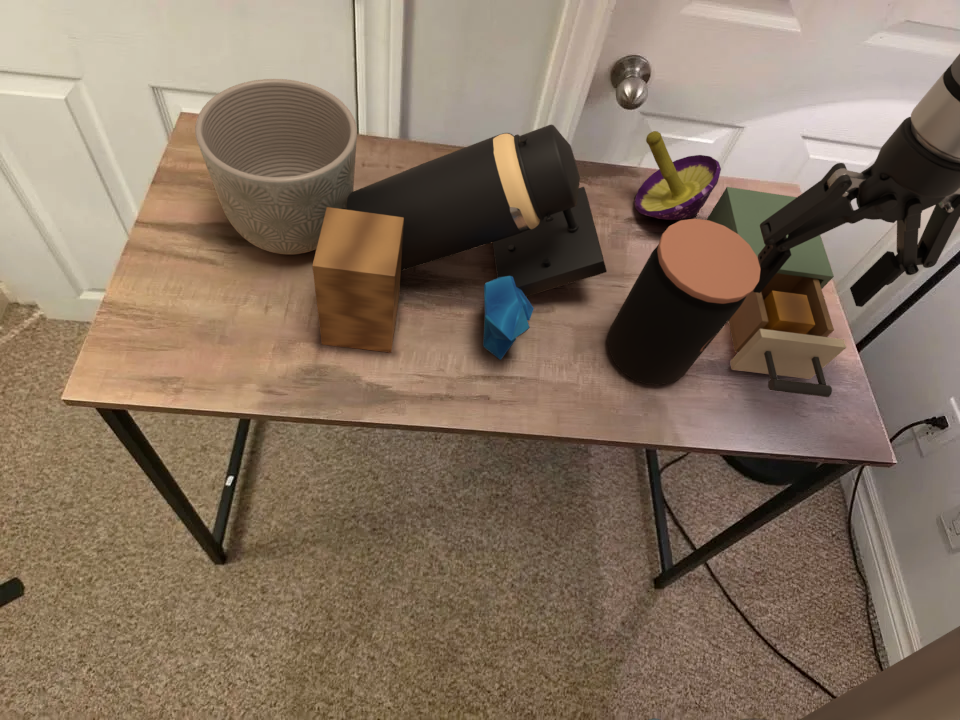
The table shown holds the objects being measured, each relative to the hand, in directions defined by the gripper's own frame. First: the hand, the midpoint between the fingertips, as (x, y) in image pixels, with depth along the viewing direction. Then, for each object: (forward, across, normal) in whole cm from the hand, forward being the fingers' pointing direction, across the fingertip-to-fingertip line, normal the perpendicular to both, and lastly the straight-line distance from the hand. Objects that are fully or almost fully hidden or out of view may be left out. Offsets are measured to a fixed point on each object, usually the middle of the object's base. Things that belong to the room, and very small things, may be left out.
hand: (805, 290), depth 74 cm
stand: (+11, +51, +4) cm, 52 cm away
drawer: (+10, 0, +2) cm, 10 cm away
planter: (+11, +62, -9) cm, 63 cm away
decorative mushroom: (-1, +17, -24) cm, 29 cm away
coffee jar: (+11, +16, +4) cm, 19 cm away
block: (+9, 0, 0) cm, 9 cm away
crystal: (+11, +35, +4) cm, 37 cm away
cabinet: (+11, 0, -11) cm, 16 cm away
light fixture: (+11, +38, -7) cm, 40 cm away
